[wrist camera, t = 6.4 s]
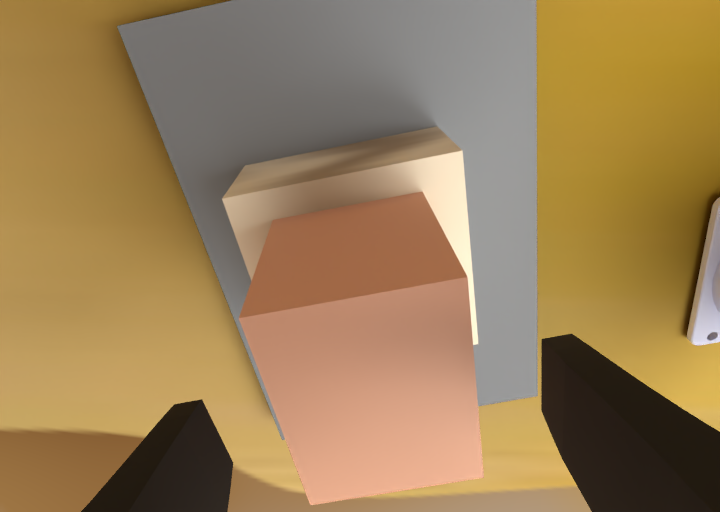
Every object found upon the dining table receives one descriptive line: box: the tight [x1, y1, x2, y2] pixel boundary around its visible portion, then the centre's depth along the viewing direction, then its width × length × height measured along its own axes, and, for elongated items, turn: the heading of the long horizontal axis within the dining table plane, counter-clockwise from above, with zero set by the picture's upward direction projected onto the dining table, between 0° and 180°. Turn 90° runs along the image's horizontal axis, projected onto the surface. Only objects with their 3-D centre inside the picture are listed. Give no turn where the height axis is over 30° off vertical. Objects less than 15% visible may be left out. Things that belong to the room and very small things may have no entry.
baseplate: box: [117, 0, 538, 440], centre depth 18 cm, size 13×19×2 cm
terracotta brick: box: [239, 191, 484, 505], centre depth 12 cm, size 4×6×5 cm
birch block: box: [222, 127, 478, 345], centre depth 16 cm, size 7×7×4 cm
